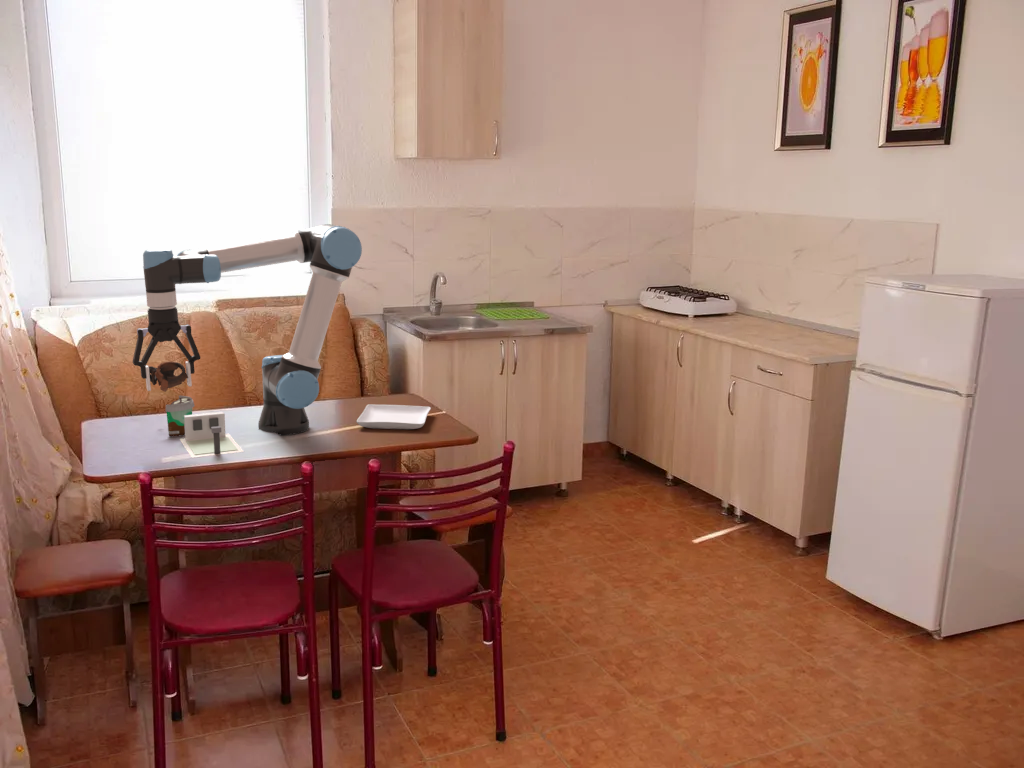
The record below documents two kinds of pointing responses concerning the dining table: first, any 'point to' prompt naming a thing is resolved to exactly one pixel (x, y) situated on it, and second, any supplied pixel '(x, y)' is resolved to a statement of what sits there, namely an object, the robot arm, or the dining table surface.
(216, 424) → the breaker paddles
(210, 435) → the stand
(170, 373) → the pottery mug
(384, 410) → the salad plate
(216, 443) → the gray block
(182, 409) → the food container
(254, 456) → the dining table surface
